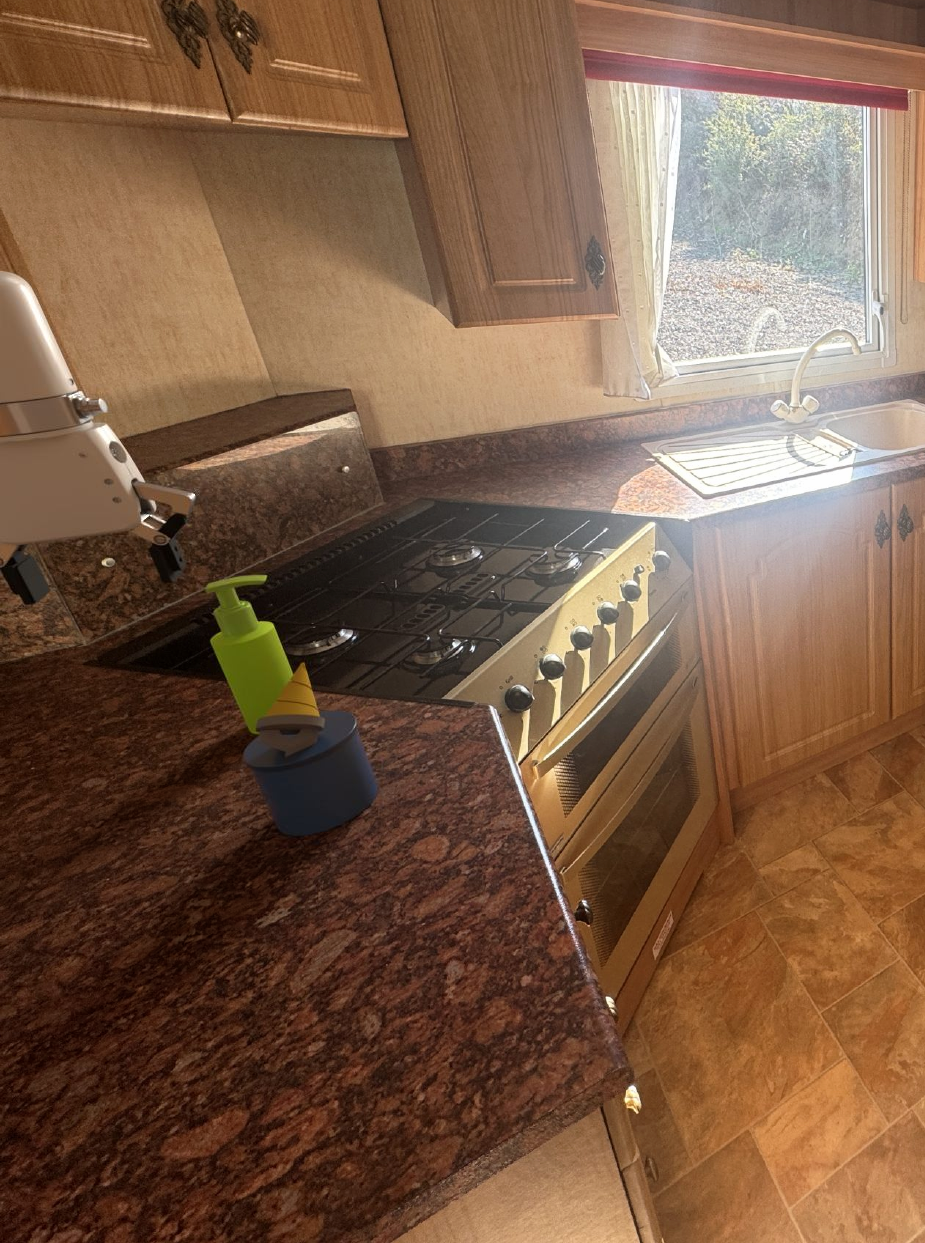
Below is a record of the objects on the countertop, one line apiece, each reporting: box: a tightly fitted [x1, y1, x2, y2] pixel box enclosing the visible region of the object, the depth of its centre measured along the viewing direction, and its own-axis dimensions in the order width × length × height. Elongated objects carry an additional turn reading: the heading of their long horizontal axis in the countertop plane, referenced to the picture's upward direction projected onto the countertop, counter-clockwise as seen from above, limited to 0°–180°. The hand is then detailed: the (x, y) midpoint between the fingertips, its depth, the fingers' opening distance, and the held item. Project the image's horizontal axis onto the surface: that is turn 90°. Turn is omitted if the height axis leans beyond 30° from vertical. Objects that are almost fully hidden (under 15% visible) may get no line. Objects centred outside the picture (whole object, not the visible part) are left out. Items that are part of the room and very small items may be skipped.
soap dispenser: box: [204, 574, 294, 735], centre depth 92 cm, size 6×7×20 cm
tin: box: [242, 710, 380, 837], centre depth 80 cm, size 9×9×9 cm
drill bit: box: [256, 662, 325, 757], centre depth 77 cm, size 5×5×10 cm
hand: (108, 588), depth 72 cm, fingers open, 9 cm apart
